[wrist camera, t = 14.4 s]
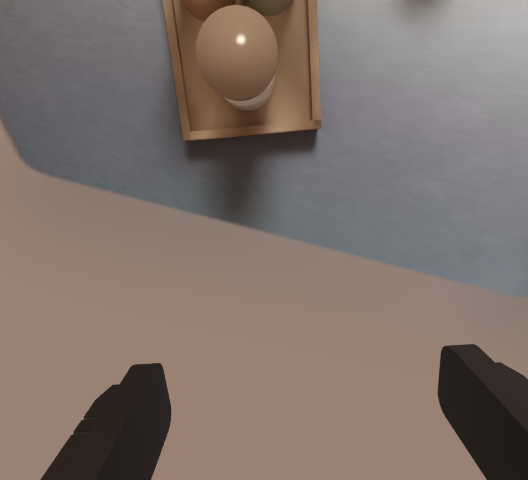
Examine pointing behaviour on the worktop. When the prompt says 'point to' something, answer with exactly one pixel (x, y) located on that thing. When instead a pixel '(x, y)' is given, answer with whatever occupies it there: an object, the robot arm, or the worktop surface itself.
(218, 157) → the worktop surface
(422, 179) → the worktop surface
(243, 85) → the white jar
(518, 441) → the robot arm
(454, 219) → the worktop surface
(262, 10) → the sage jar
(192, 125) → the tray
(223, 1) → the terracotta jar
